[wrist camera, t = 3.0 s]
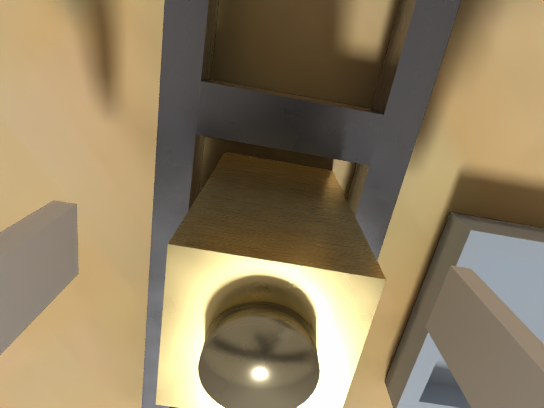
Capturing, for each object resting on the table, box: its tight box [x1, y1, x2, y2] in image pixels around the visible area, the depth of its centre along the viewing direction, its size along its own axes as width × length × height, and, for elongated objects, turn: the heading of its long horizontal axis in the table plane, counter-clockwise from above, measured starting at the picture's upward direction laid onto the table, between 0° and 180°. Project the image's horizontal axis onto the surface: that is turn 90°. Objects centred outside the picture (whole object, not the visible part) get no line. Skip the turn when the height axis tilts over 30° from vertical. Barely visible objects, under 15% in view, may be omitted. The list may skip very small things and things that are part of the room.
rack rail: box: [142, 0, 461, 408], centre depth 16 cm, size 28×10×2 cm, turn 170°
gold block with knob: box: [156, 152, 386, 408], centre depth 13 cm, size 5×5×10 cm
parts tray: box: [385, 212, 544, 408], centre depth 18 cm, size 11×11×2 cm
